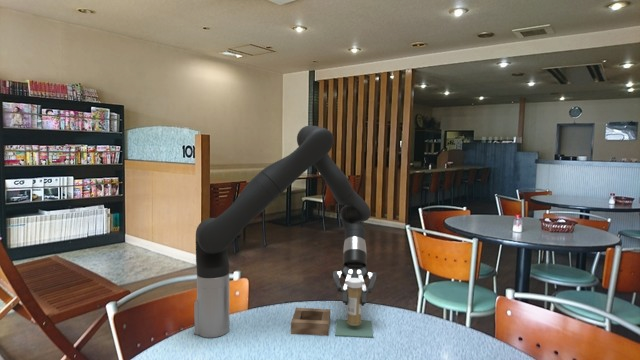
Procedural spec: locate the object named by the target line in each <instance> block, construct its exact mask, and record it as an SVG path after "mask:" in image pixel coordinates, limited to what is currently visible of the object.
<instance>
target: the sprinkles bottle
mask: <svg viewBox="0 0 640 360" xmlns="http://www.w3.org/2000/svg"><path fill="white" fill-rule="evenodd" d="M347 286H348V290H347V305H346V314H347V315H346V319H347V323H348V324H349V325H352V326H357V325H360V324H361V320H362V306H361V294H362V289H361V288H362V280H361V279H359V278H349V279H348V280H347Z"/></svg>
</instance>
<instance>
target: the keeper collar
mask: <svg viewBox="0 0 640 360" xmlns="http://www.w3.org/2000/svg"><path fill="white" fill-rule="evenodd" d="M330 325H331V308H314V307H313V308H311V307H310V308H309V307H308V308H307V307H296V308H295V310H294V313H293V315H292V318H291V321H290V335H301V336H302V335H305V336H306V335H308V336H324V337H325V336H327V337H328V336H329V335H330Z"/></svg>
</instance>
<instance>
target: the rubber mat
mask: <svg viewBox="0 0 640 360" xmlns="http://www.w3.org/2000/svg"><path fill="white" fill-rule="evenodd" d="M334 333H335V335H334V336H335V337H343V338H344V337H347V338H348V337H349V338H367V339H374V331H373V323H372V320H371V319H370V320H368V319H364V320H362V319H361V324H360V325H357V326H352V325H349V324H348V323H347V318H342V319H341V318H336V321H335V332H334Z"/></svg>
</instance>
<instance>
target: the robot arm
mask: <svg viewBox="0 0 640 360" xmlns="http://www.w3.org/2000/svg"><path fill="white" fill-rule="evenodd" d="M334 141H335V140H334V135H333V133H332V132H331V130H329V129H328V128H325V127H322V126H318V125H306V126H305V125H304V126H303V127H301V128H300V129H299V131H298V133H297V136H296V142H297V146H298V147H297V148H296V149H295V150H293V152H291V153H289V154H288V155H286V156H285V157H283V158H281V159H279V160H277V161H274V162H273V163H270V164H269V165H268V166H266V167H264V168H263V169H261V171H259V172H258V173H257V174H256V175H255V176H254V177H252V179H250V180H249V182H248V183H247V184H246V185H245V186H244V187H243V190H242V191H241V192H240V193H239V194H238V196H237V197H236V199H235V200H234V202H233V203H232V204H231V205H230V206H229V207H228V208H227V209H226V210H225V211H223V212H222V213H221V214H219V215H218V216H216V217H208V218H206V219H203V220H202V221H201V222H200V223H199V224H198V226H197V227H196V231H195V264H196V266H195V267H196V300H195V301H194V303H193V305H194V307H193V308H194V309H193V310H194V318H193V319H194V326H193V327H194V335H198V336H200V337H202V338H218V337H221V336H224V335H226V334H228V332H230V324H231V323H230V261H229V253H228V250H229V249H228V247H229V246H230V245H231V244H232V242H234V240H235V239H236V238H237V237H238V235H240V233H241V232H242V231H243V230H244V229H245V228H246V226H247V225H249V223H250V222H252V221H253V220H254V219H255V218H257V216H258V215H260V214H261V213H262V212H263V211H264V210H265V209H267V208H268V207H269V206H270V205H271V204H272V203H273V202H275V201H276V200H277V198H279V197H281V195H282V194H283V193H284V192H285V191H286V190H287V189H288V188H289V187H290V186H291V185H292V184H293V183H294V182H295V181H296V180H298V179H299V178H300V177H301V176H302V175H304V173H305V172H306V171H307V170H309V169H310V168H311V167H312V166H314V167H315V169H316V171H318V172H319V174H320V176H321V178H322V179H323V181H324V182H325V184H326V185H327V186H328V188H329V191H330V192H331V194H332V196H333V198H334V199H335V201H336V203H338V205H340V206H342V208H341V209H340V213H339V214H340V219H341V222H342V225H343V229H344V243H343V252H342V253H343V255H342V268H341V270H340V271H337V270H334V271H332V275H333V280H334V284H335V287H336V291H337V292H338V293H339V292H341V293H342V304H344V306H347V295H348V286H347V280H348V279H349V278H359V279H361V280H362V288H361V289H362V291H361V307H364V306H365V305H366V304H367V294H371V293H372V292H373V289H374V286H375V282H376V280H377V272H375V271H374V272H370V271H369V270H368V268H367V265H368V263H367V259H368V258H367V256H368V255H367V245H366V240H367V239H366V228H365V226H363V225H362V224H360V223H362V222H366V221H368V220H369V219H370V218H371V214H372V213H371V208H370V206H369V204H368V203H367V201H365V200H364V199H363V198H362V197H361V196H360V195H359V194H358V193H357V192H356V191H355V190H354V188H353V186H352V184H351V183H350V180H349V178H348V177H347V176H346V174H345V173H344V172H343V171H342V170H341V169H340V168H339V167H338V165H337V164H336V163H335V162H334V161H333V159H332V158H331V156H330V155H329V152H331V150H332V148H333V145H334V143H335V142H334ZM341 276H342V278H343V279H344V280H345V281H344V284H343V285H341V282H340V279H341ZM367 277H368V280H369V284H368V286H366V284H365V280H366V279H367Z"/></svg>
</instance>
